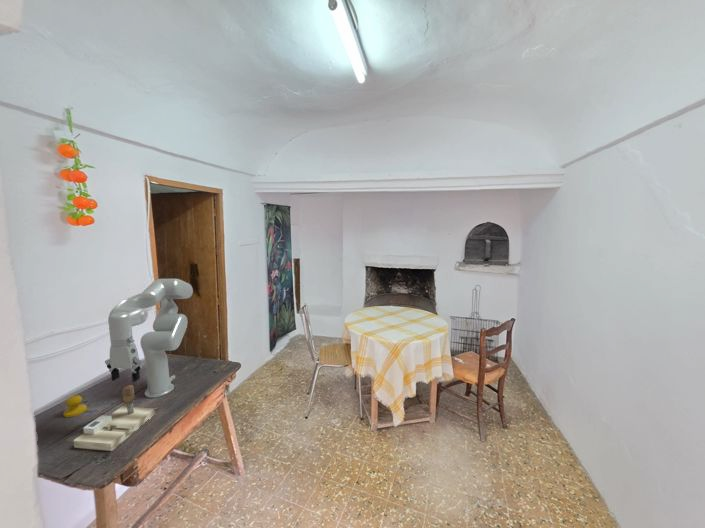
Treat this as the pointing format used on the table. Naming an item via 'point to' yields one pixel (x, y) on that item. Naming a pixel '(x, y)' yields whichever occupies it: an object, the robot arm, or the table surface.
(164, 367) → the robot arm
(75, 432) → the table surface
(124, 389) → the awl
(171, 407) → the table surface
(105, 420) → the block
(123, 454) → the table surface
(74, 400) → the doorknob
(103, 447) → the cream slotted tray
